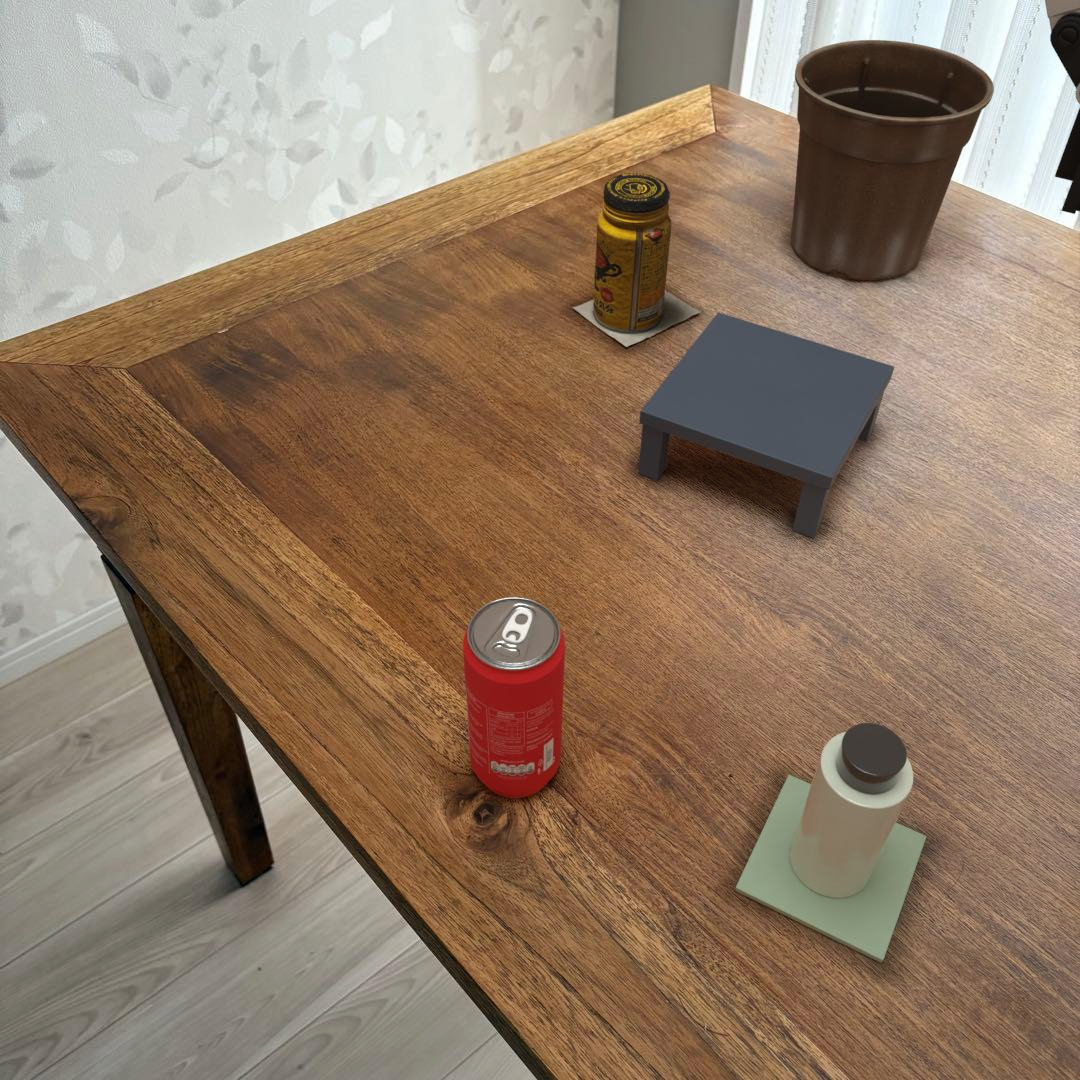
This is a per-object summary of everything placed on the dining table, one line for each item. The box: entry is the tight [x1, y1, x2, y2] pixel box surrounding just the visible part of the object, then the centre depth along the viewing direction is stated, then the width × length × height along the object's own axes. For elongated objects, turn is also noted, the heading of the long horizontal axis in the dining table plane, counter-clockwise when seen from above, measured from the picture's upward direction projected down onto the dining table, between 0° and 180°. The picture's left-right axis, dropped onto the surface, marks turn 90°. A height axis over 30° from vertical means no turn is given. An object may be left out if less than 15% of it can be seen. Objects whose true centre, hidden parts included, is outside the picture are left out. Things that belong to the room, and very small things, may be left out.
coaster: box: [734, 774, 928, 964], centre depth 60 cm, size 8×8×1 cm
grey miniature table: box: [637, 312, 895, 539], centre depth 82 cm, size 14×14×6 cm
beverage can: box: [462, 596, 566, 799], centre depth 60 cm, size 5×5×12 cm
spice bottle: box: [789, 722, 914, 898], centre depth 56 cm, size 4×4×11 cm
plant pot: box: [790, 39, 995, 281], centre depth 99 cm, size 16×16×16 cm
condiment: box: [572, 172, 701, 348], centre depth 92 cm, size 7×8×12 cm
